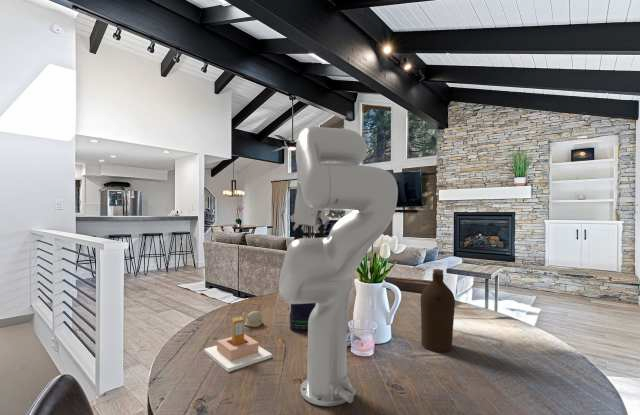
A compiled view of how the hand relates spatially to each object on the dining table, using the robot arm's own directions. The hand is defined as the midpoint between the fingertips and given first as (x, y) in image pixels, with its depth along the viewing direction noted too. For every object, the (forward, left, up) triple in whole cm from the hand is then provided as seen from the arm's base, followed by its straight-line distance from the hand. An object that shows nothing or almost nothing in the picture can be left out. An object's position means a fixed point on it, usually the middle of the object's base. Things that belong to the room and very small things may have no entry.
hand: (308, 244), depth 104 cm
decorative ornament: (+31, +1, -34) cm, 46 cm away
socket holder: (+12, +17, -33) cm, 39 cm away
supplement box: (+12, +17, -32) cm, 39 cm away
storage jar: (+17, -12, -34) cm, 39 cm away
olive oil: (-23, -36, -34) cm, 54 cm away
